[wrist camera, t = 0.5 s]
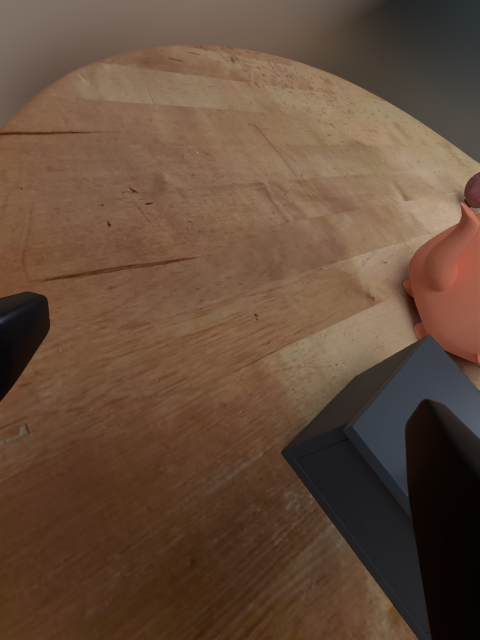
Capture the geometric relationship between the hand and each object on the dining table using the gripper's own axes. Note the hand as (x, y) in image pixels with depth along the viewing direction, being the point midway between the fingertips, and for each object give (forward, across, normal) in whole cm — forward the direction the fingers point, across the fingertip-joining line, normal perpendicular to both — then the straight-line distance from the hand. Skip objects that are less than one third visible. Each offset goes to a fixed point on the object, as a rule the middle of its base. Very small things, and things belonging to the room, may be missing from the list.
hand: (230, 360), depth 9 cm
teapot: (+32, -21, +13) cm, 40 cm away
